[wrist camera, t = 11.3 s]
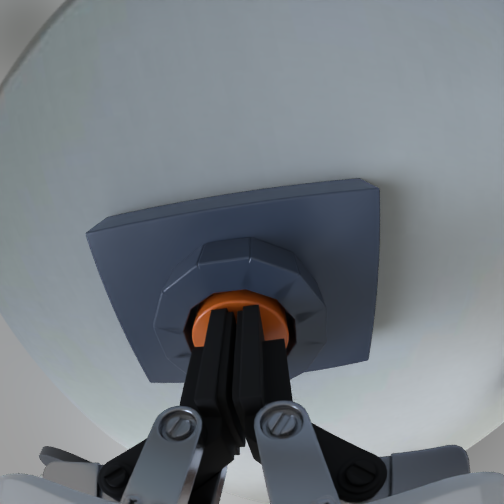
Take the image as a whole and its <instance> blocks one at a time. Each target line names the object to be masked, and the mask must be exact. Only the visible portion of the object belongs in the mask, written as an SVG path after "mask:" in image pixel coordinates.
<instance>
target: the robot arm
mask: <svg viewBox="0 0 504 504" xmlns="http://www.w3.org/2000/svg"><path fill="white" fill-rule="evenodd" d="M245 438H246V440H247V442H248V445H249V448H250V450H251V453H252V455H253V458H254V459H255V460H256V461H257V462H259V463H260V464H262V468H263V473H264V477H265V482H266V487H267V491H268V496H269V500H270V504H504V475H503V474H500V473H496V472H476V473H470V465H469V458H468V455H467V453H466V451H465V450H464V449H463V448H462V447H460V446H457V445H447V446H442V447H436V448H431V449H425V450H418V451H411V452H403V453H394V454H391V456H385V457H377V456H376V455H374V454H372V453H370V452H368V451H365V450H363V449H361V448H359V447H357V446H355V445H353V444H351V443H349V442H347V441H345V440H343V439H341V438H339V437H337V436H335V435H333V434H331V433H329V432H327V431H325V430H324V429H322V428H320V427H318V426H316V425H314V424H313V423H311V421H310V418H309V415H308V413H307V412H306V410H305V408H303V407H302V406H301V405H300V404H298V403H295V402H293V401H292V393H291V385H290V377H289V370H288V362H287V354H286V347H285V340H284V338H283V339H275V340H267V341H265V339H264V333H263V327H262V321H261V315H260V309H259V305H250V306H243V311H237V324H236V320H235V315H234V312H228V309H227V308H224V309H214V310H211V313H210V318H209V323H208V328H207V333H206V338H205V343H204V346H202V347H194V348H193V349H192V353H191V357H190V361H189V365H188V370H187V374H186V379H185V383H184V388H183V392H182V397H181V401H180V406H175V407H171V408H168V409H166V410H164V411H163V412H162V413H161V414H160V415H158V417H157V419H156V420H155V422H154V424H153V426H152V429H151V431H150V433H149V436H148V438H147V439H145V440H144V441H142V442H140V443H139V444H137V445H136V446H134V447H132V448H131V449H129V450H127V451H126V452H124V453H122V454H121V455H119V456H117V457H115V458H114V459H112V460H110V461H109V462H107V463H106V464H105V465H100V464H99V463H87V462H66V461H53V462H51V463H49V464H48V465H47V466H46V467H45V469H44V472H43V474H41V475H40V477H37V476H33V475H28V474H20V473H18V474H7V475H3V476H0V504H219V501H220V497H221V493H222V489H223V485H224V481H225V477H226V473H227V465H228V464H229V463H230V462H232V461H233V460H234V455H240V447H245Z"/></svg>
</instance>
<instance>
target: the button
mask: <svg viewBox="0 0 504 504" xmlns="http://www.w3.org/2000/svg"><path fill="white" fill-rule="evenodd" d="M250 305H259V309H260V315H261V321H262V327H263V333H264V339H265V341H267V340H275V339H283V338H284V340H285V347H286V348H287V345H288V341H289V332H288V326H287V320H286V314H285V308H284V307H283V306H282V305H281V304H280V303H279V302H278V301H277V300H276V299H274V298H271V297H268V296H265V295H262V294H259V293H256V292H253V291H250V290H247V289H244V290H236V291H228V292H220V293H213V294H212V295H210V296H209V297H207V298H206V299H205V300H203V301H202V302H200V303H199V306H198V310H197V313H196V317H195V321H194V325H193V329H192V340H193V343H194V346H195V347H202V346H204V343H205V338H206V333H207V328H208V323H209V318H210V313H211V310H214V309H224V308H227V309H228V312H234V315H235V320H236V324H237V311H243V306H250Z"/></svg>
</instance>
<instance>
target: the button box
mask: <svg viewBox="0 0 504 504" xmlns="http://www.w3.org/2000/svg"><path fill="white" fill-rule="evenodd" d="M86 237H87V240H88V243H89V246H90V249H91V252H92V255H93V258H94V261H95V264H96V266H97V269H98V272H99V274H100V277H101V280H102V282H103V285H104V287H105V290H106V292H107V295H108V297H109V299H110V302H111V304H112V307H113V309H114V311H115V313H116V316H117V318H118V320H119V322H120V324H121V327H122V329H123V331H124V333H125V335H126V337H127V339H128V341H129V343H130V345H131V347H132V349H133V351H134V353H135V355H136V357H137V359H138V361H139V363H140V365H141V367H142V369H143V370H144V372H145V374H146V376H147V378H148V379H149V381H150V382H151V383H185V379H186V374H187V370H188V365H189V361H190V357H191V353H192V349H193V348H194V347H195V346H194V343H193V340H192V329H193V325H194V321H195V317H196V313H197V310H198V306H199V303H200V302H202V301H203V300H205V299H206V298H207V297H209V296H210V295H212V294H213V293H220V292H228V291H236V290H244V289H247V290H250V291H253V292H256V293H259V294H262V295H265V296H268V297H271V298H274V299H276V300H277V301H278V302H279V303H280V304H281V305H282V306H283V307H284V308H285V314H286V320H287V326H288V332H289V341H288V345H287V348H286V354H287V362H288V370H289V377H290V379H292V378H294V377H296V376H298V375H300V374H302V373H303V372H309V371H316V370H322V369H327V368H333V367H338V366H343V365H348V364H353V363H358V362H362V361H367V360H368V359H369V353H370V346H371V339H372V332H373V324H374V315H375V305H376V295H377V282H378V267H379V245H380V189H379V188H378V187H376V186H374V185H372V184H370V183H368V182H366V181H364V180H362V179H360V178H357V179H345V180H335V181H325V182H316V183H307V184H298V185H290V186H282V187H274V188H267V189H259V190H252V191H245V192H239V193H232V194H226V195H220V196H213V197H207V198H202V199H196V200H190V201H185V202H179V203H174V204H169V205H163V206H158V207H153V208H148V209H143V210H139V211H134V212H129V213H125V214H120V215H115V216H111V217H107V218H105V219H104V220H103V221H101V222H100V223H99V224H97V225H96V226H94V227H93V228H92V229H90V230H89V231H88V232H86Z"/></svg>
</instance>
